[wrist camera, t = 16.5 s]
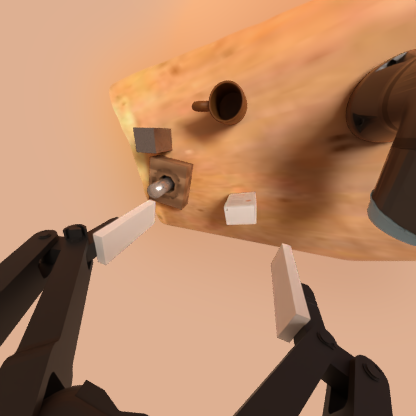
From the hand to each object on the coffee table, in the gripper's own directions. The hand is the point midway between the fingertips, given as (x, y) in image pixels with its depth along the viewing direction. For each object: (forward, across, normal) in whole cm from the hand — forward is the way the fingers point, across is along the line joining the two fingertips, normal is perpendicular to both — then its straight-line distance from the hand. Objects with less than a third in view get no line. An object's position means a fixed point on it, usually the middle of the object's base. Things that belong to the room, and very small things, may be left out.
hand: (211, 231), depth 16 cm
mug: (+35, -9, +13) cm, 38 cm away
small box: (+35, +3, -10) cm, 37 cm away
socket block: (+35, -21, -10) cm, 42 cm away
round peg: (+35, -21, -10) cm, 42 cm away
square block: (+35, -26, +2) cm, 43 cm away
